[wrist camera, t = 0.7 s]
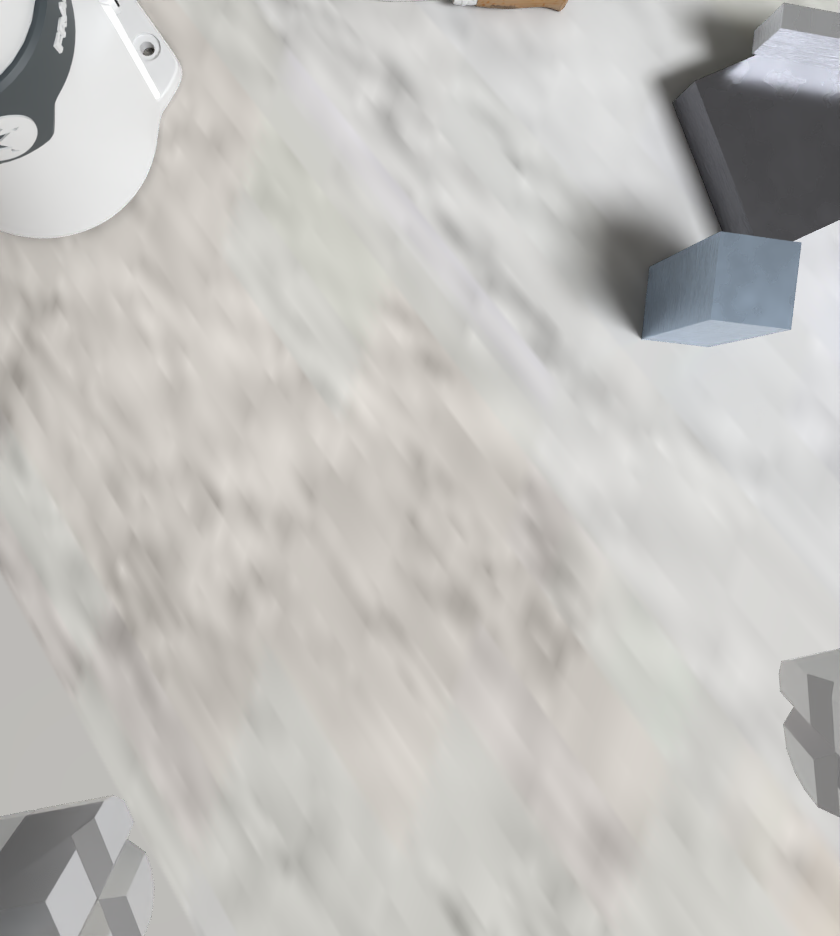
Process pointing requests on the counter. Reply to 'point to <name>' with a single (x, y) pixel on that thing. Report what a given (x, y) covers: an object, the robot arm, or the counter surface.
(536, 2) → the folding knife
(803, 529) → the counter surface
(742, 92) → the ledge
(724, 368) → the counter surface
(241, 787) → the counter surface
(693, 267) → the block
